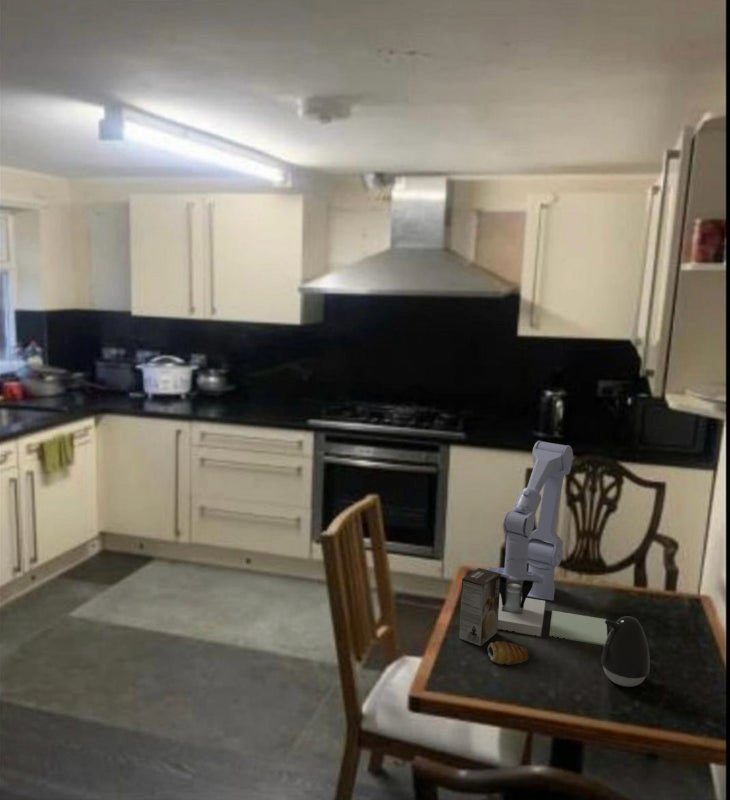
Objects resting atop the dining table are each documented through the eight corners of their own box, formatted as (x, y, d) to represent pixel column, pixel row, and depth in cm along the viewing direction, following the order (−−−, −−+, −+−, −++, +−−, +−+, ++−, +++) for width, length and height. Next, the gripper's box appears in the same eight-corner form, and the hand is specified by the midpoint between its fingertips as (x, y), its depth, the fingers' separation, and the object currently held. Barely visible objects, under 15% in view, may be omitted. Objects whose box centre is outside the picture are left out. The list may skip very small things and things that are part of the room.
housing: (486, 599, 198) (486, 591, 198) (544, 609, 194) (545, 600, 193) (477, 625, 183) (478, 616, 183) (540, 636, 179) (541, 627, 178)
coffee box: (475, 625, 184) (479, 566, 181) (497, 633, 180) (502, 573, 177) (458, 638, 176) (461, 577, 174) (481, 647, 172) (485, 585, 170)
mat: (552, 612, 192) (552, 610, 192) (606, 621, 188) (606, 619, 188) (549, 636, 179) (549, 634, 179) (607, 646, 175) (607, 644, 175)
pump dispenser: (593, 667, 165) (599, 606, 163) (638, 669, 165) (644, 608, 162) (606, 692, 155) (613, 627, 153) (654, 694, 155) (661, 629, 152)
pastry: (522, 651, 172) (524, 636, 171) (532, 666, 165) (533, 651, 165) (485, 651, 171) (486, 637, 170) (493, 667, 164) (494, 652, 164)
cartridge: (504, 612, 191) (506, 582, 190) (521, 615, 190) (523, 585, 189) (502, 619, 187) (504, 589, 186) (519, 622, 186) (521, 591, 184)
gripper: (486, 558, 184) (483, 607, 186) (543, 566, 180) (539, 616, 182) (490, 548, 191) (487, 596, 193) (545, 556, 187) (541, 604, 189)
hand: (512, 605), depth 188 cm, fingers closed on cartridge, 4 cm apart
